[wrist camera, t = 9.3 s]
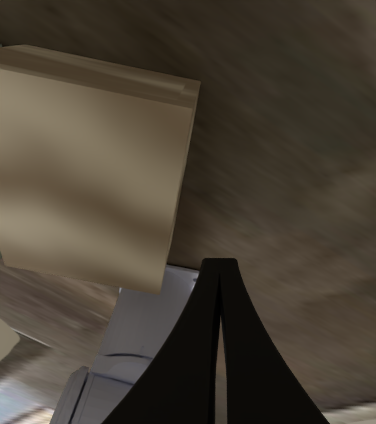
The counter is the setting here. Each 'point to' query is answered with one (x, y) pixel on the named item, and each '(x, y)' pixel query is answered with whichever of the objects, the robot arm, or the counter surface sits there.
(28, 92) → the cabinet
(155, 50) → the counter surface
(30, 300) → the counter surface
